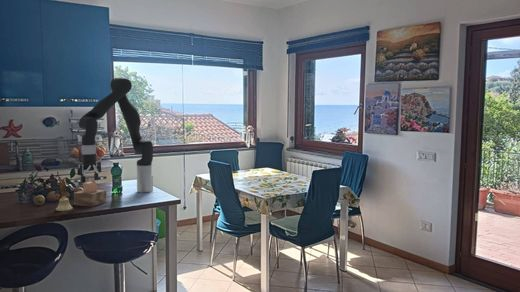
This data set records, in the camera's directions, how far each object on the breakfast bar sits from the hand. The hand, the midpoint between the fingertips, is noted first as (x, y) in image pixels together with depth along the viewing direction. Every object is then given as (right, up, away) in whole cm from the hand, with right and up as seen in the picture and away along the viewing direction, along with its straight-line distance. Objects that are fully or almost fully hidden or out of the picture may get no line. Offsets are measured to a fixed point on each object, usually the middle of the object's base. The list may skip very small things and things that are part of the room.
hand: (89, 181), depth 233 cm
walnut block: (0, -13, +1) cm, 13 cm away
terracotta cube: (0, -6, 0) cm, 6 cm away
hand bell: (-8, -14, -13) cm, 20 cm away
